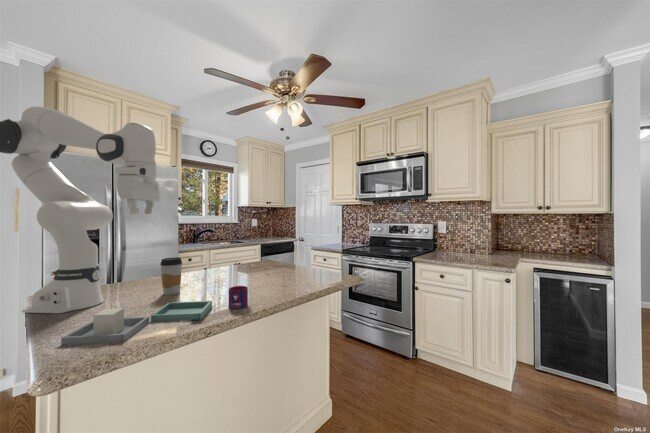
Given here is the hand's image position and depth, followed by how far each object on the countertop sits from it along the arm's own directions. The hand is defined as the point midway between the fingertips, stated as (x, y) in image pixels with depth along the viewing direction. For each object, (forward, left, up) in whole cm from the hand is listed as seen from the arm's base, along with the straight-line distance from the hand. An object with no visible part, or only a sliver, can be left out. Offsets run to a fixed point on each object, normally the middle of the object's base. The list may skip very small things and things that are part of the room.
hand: (141, 214), depth 93 cm
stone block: (-2, -15, -34) cm, 37 cm away
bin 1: (-2, -15, -34) cm, 37 cm away
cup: (+30, +7, -35) cm, 47 cm away
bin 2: (+13, -1, -34) cm, 37 cm away
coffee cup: (-2, +27, -35) cm, 44 cm away
